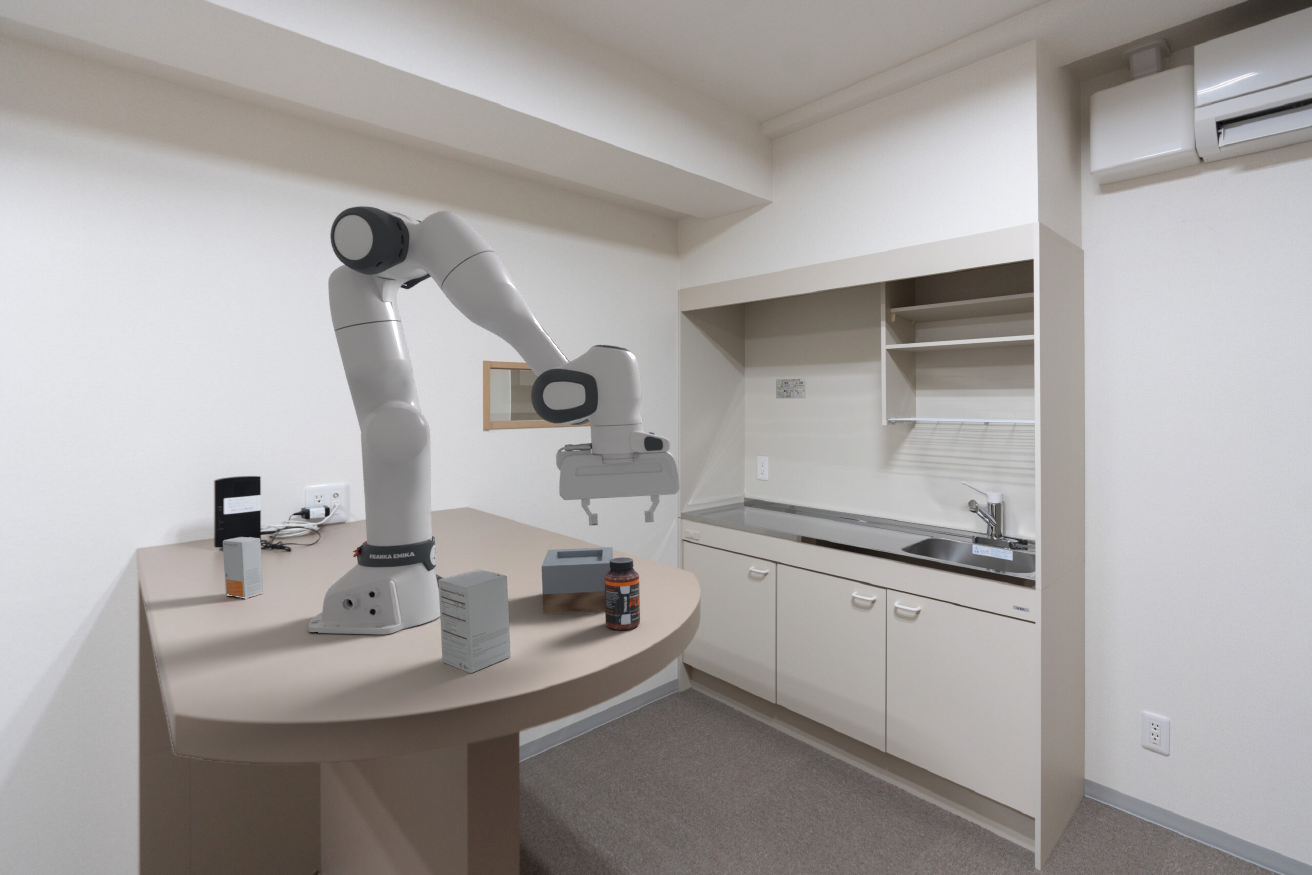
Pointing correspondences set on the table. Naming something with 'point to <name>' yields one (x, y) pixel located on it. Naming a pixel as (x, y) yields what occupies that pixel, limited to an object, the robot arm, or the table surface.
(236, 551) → the skincare box
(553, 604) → the walnut bottom slab
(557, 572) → the slate grey top slab
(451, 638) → the supplement box
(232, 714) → the table surface
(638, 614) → the supplement bottle
